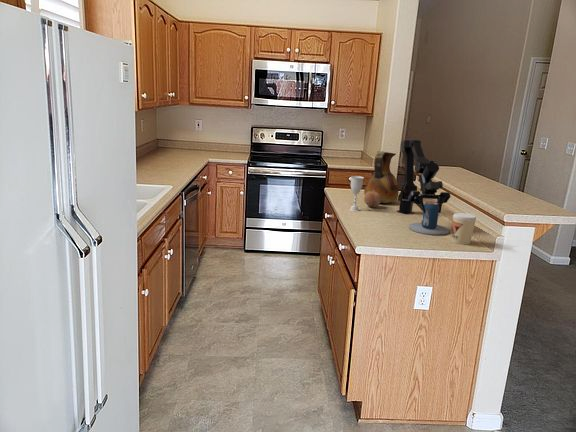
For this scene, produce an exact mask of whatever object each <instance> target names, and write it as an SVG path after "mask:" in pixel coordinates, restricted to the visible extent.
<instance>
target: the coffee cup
mask: <svg viewBox="0 0 576 432" xmlns="http://www.w3.org/2000/svg"><path fill="white" fill-rule="evenodd" d="M476 220H477V217H476V215H474V214H472V213H468V212H467V213H466V212H455V213H454V214H453V215H452V226H451V227H452V228H451V242H452V243H454V244H458V245H461V246H462V245H464V246H465V245H468V246H469V245H470V244H471V242H472V237H473V233H474V228H475V224H476Z"/></svg>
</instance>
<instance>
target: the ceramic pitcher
mask: <svg viewBox="0 0 576 432" xmlns="http://www.w3.org/2000/svg"><path fill="white" fill-rule="evenodd" d="M376 152H377V153H376V155H375V157H374V162H373V163H374V165H373V167H374V173H373V174H372V175H371V176H369V178H368V180H367V182H366V184H365V186H364V191H363V194H364V196H365V194H366V193H367V192H369V191H372V190H374V191H376V192H377V193H378V194H379V195H380V196H381V202H380V203H382V204H390V203H392V202H395V201H398V196H399V194H400V192H399V183H398V180H397V178H396V177H395V175H394V174H393V173H392V172H391V162H392V158H393V157H395V156H396V155H397V154H396V153H393V152H389V151H388V152H387V151H376Z"/></svg>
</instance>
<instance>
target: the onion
mask: <svg viewBox="0 0 576 432" xmlns="http://www.w3.org/2000/svg"><path fill="white" fill-rule="evenodd" d="M363 200H364V203H365V204H366V205H367V206H368V207H370V208H375V207H377V206H379V205H380V204H381V203H382V202H381V196H380V195H379V194H378V193H377V192H376V191H374V190H372V191H369V192H367V193H366V194H365V195H364V197H363Z"/></svg>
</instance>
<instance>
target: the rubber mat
mask: <svg viewBox="0 0 576 432" xmlns="http://www.w3.org/2000/svg"><path fill="white" fill-rule="evenodd" d="M408 230H410V231H412V232H415V233H417V234H422V235H426V236H447V235H449V233H450V229H449V228H447V227H445V226H442V225H439V224H437V227H436V228H435V229H432V230H430V229H425V228H423V227H422V222H414V223H411V224H409V225H408Z"/></svg>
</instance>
